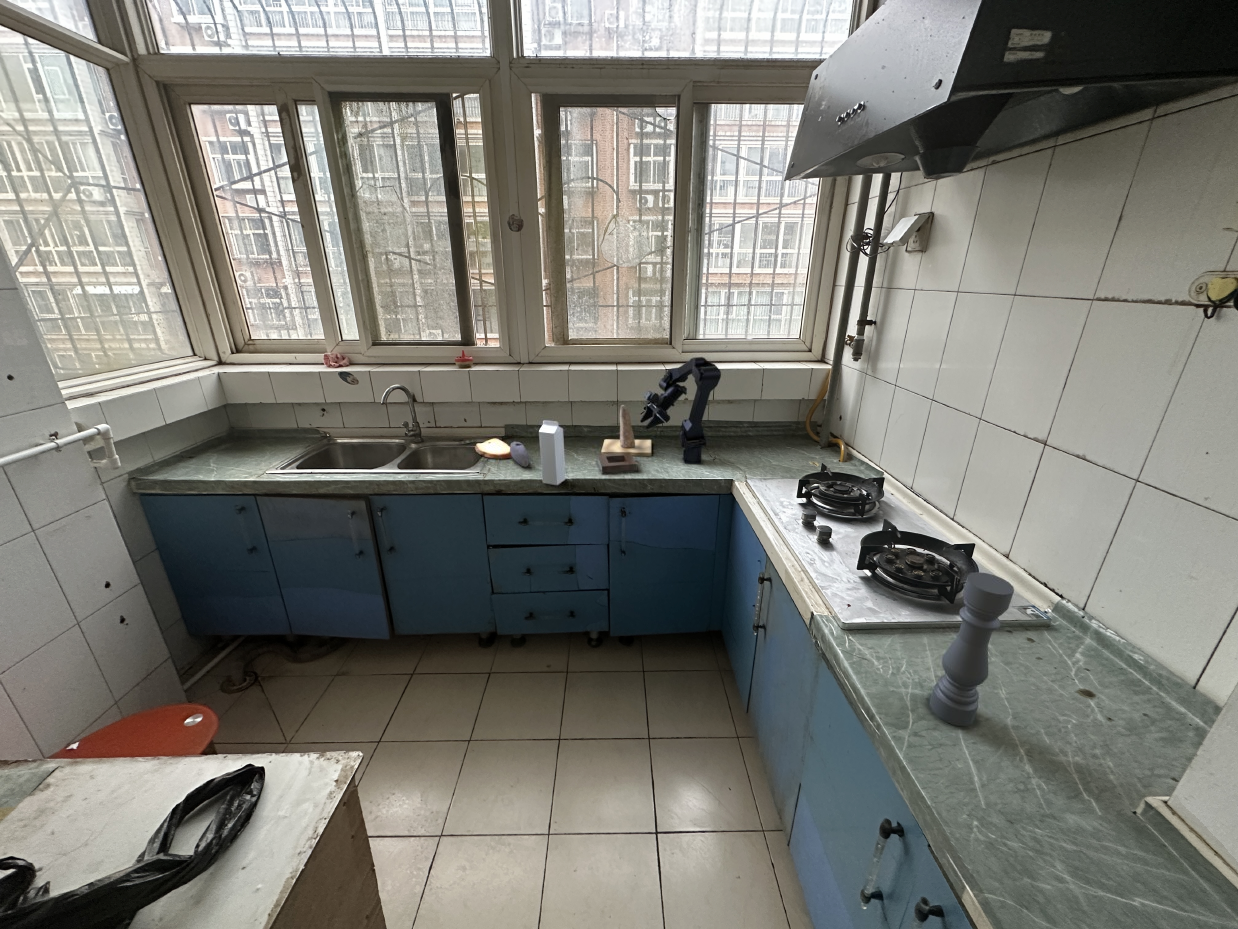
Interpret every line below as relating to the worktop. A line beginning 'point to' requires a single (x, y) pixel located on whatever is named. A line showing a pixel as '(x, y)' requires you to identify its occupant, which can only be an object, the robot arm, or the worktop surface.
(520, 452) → the perforated stone tool
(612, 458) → the holder
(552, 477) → the milk
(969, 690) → the candle holder
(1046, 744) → the worktop surface
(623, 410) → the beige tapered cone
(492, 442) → the slice of bread
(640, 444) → the board
